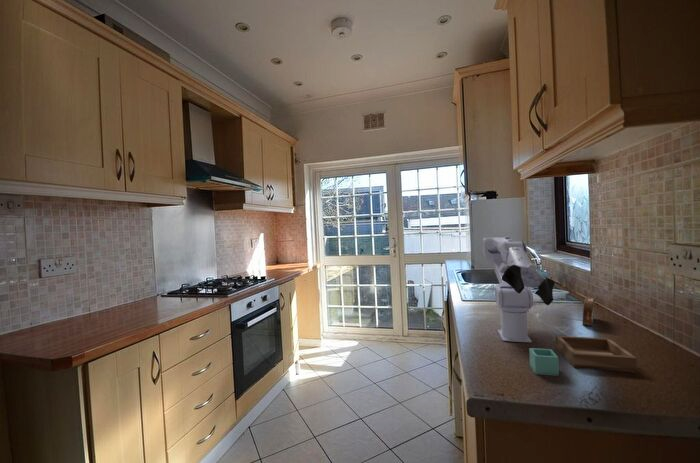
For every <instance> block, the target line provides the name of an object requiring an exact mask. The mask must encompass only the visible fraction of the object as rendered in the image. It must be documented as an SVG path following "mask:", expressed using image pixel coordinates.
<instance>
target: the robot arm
mask: <svg viewBox="0 0 700 463" xmlns="http://www.w3.org/2000/svg"><path fill="white" fill-rule="evenodd" d="M481 243H482V244H481V246H482V253H483V256H484V258H485V260H486V261H487V262H488V263H491V266H492V268H493V271H494V274H495V276H496V279H497V280H498V284H496V286H495V289H494V297H495V304H496V307H498V308H499V309H500V329H497V332H498V334H499V336H500V338H501V340H502V341H504V342H515V343H517V342H518V343H532V340H531V338H530V337H529V336H528V313H529V312H530V310H531V309H532V308H533V307H534V295H537V296H538V297H539V298H540V299H541V301H542V302H543V303H544V304H545V305H546V306H550V304H552V302H553V301H554V294H553V290H554V288H555V285H556V283H555V281H554V279H551V278H549V277H544V275H542V274H541V273H540V272H539V271H538V270H537V269H538V266H537V265H536V264H534V263H532V262H531V260H530V258H529V255H527V251H528V250H527V249H528V248H527V244H526V242H525V240H520V241H515V240H514V239H513V238H511V237H510V236H504V237H483V239H482V242H481ZM530 288H537V290H536V291H535V293H534V294H533V292H532V290H531V289H530Z"/></svg>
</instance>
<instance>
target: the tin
mask: <svg viewBox="0 0 700 463" xmlns="http://www.w3.org/2000/svg"><path fill="white" fill-rule="evenodd" d="M595 301H596V299H595V298H594V297H590V296H589V297H588V296H585V299H584V302H583V309H582V326H583V325H584V326H589V327H590V326H593V323H594V322H593V321H594V316H595V315H594V313H595V311H594V306H595V303H596V302H595Z"/></svg>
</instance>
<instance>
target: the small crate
mask: <svg viewBox="0 0 700 463" xmlns="http://www.w3.org/2000/svg"><path fill="white" fill-rule="evenodd" d="M528 349H529V366H530V368H531V369H532V370H533V372H534V374H535V375H543V376H545V375H546V376H557V377H558V376H559V375H560V372H559V371H560V370H559V367H560V366H559V362H560V361H559V356H558V355H557V354H556V353H555V352H554V350H553V349H551V348H550V349H549V348H539V347H538V348H535V347H529V348H528Z"/></svg>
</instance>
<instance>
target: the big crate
mask: <svg viewBox="0 0 700 463" xmlns="http://www.w3.org/2000/svg"><path fill="white" fill-rule="evenodd" d="M555 349H557V351H558V352H559V353H560V354H561V355H562V356H563V357H564V359H565V360H567V362H568V363H569V364H570V365H571V366H572V367H573V368H574V369H583V370H595V371H596V370H597V371H609V372H622V373H623V372H624V373H636V374H637V373H638V358H637V357H636V356H635V355H633V354H632V353H630V352H629V351H627V350H626V349H625V348H623V347H622V346H620V345H619V344H618V343H616V342H614V341H613V340H612V339H610V338H607V337H605V338H604V337H590V336H589V337H587V336H586V337H585V336H568V335H565V336H564V335H555Z"/></svg>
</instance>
